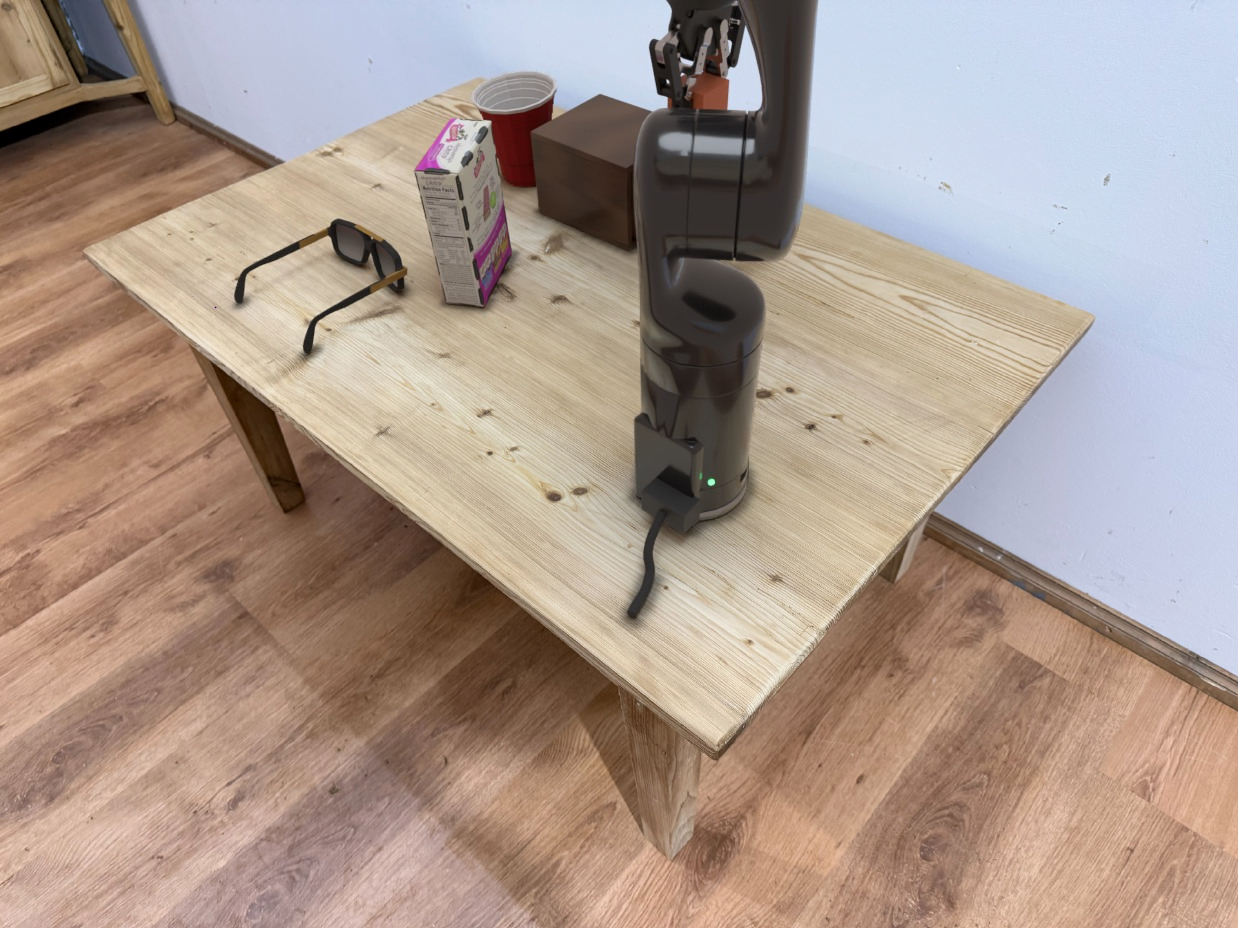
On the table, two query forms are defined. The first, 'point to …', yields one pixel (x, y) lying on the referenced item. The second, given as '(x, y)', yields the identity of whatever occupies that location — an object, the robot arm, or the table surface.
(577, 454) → the table surface
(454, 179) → the candy bar box
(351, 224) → the sunglasses
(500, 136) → the plastic cup
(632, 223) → the drawer
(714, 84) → the block
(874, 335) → the table surface
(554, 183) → the dark wooden cube
